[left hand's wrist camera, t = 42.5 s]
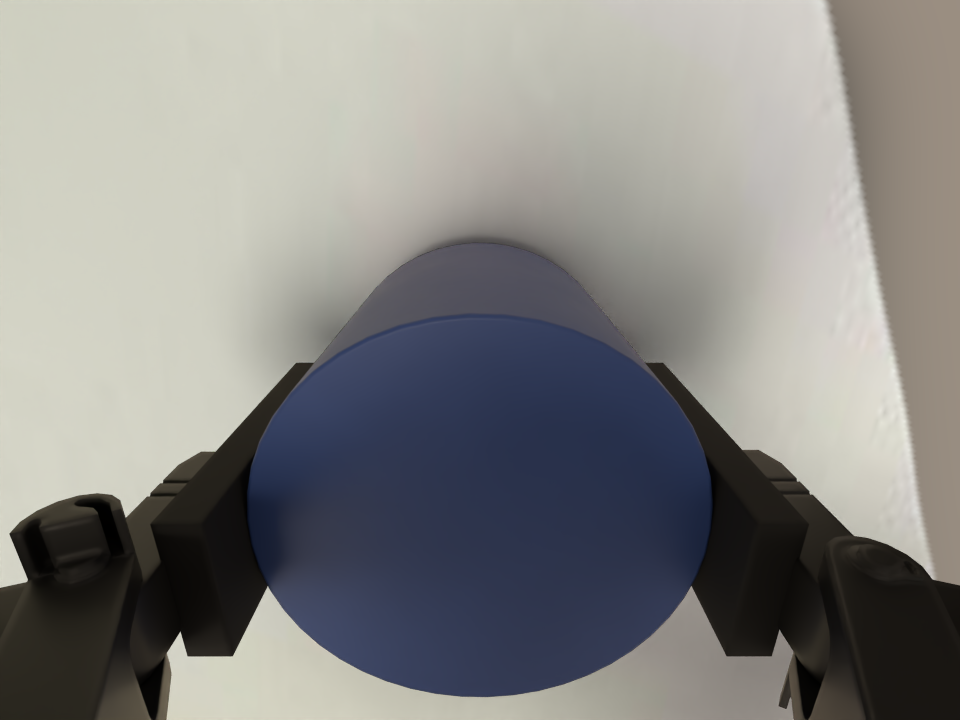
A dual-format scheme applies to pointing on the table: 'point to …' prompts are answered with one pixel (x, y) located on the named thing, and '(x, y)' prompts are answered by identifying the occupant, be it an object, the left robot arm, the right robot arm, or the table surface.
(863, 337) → the table surface
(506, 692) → the canister
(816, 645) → the left robot arm
